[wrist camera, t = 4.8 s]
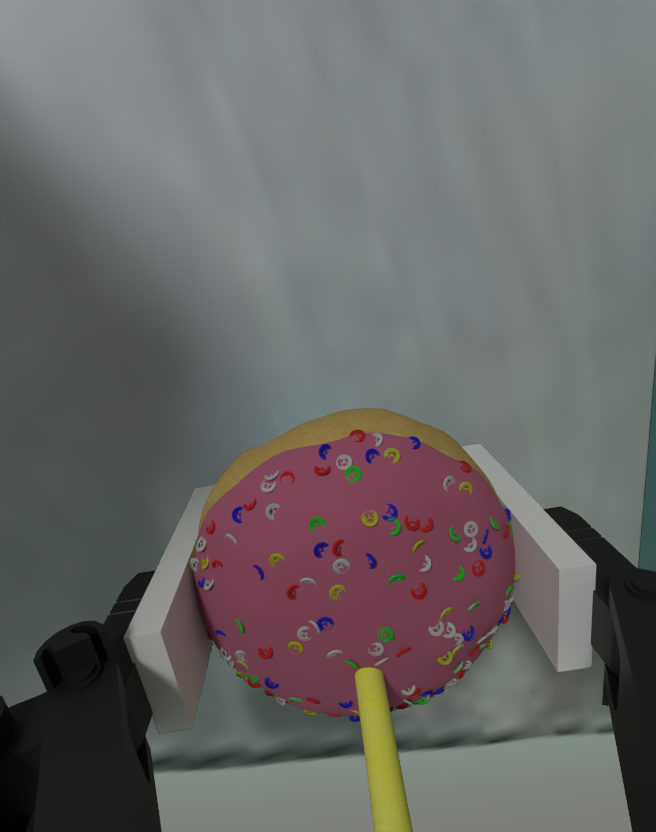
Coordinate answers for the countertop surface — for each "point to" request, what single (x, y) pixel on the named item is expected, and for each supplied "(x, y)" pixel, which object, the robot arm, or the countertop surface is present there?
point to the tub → (650, 499)
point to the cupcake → (355, 574)
